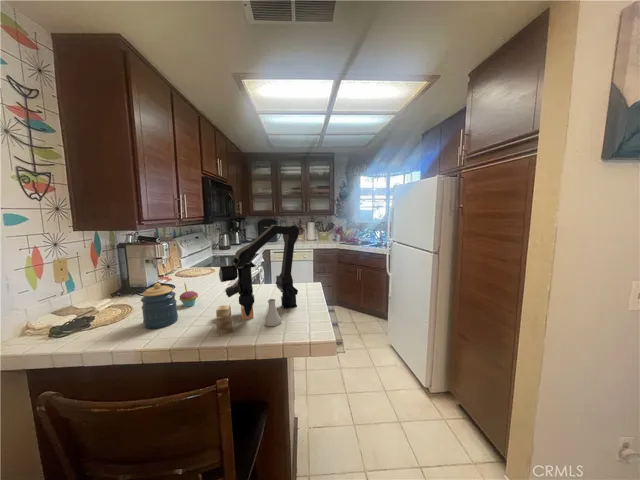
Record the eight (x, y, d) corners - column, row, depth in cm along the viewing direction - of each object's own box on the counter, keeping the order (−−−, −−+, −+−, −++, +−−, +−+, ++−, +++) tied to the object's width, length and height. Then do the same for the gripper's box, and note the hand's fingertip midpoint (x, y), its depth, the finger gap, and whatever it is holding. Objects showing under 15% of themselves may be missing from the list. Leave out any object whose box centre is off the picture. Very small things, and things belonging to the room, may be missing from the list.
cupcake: (176, 307, 134) (173, 284, 132) (190, 301, 142) (188, 279, 140) (188, 309, 130) (186, 285, 129) (202, 303, 138) (200, 280, 137)
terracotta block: (253, 313, 122) (252, 303, 122) (253, 318, 117) (252, 307, 117) (241, 315, 121) (241, 304, 120) (241, 319, 116) (241, 308, 115)
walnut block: (229, 327, 109) (229, 316, 108) (232, 332, 104) (232, 320, 104) (217, 331, 106) (216, 319, 105) (219, 336, 102) (218, 323, 101)
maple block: (231, 315, 121) (230, 305, 120) (228, 320, 116) (227, 309, 115) (219, 316, 120) (219, 305, 120) (216, 321, 115) (215, 310, 115)
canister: (158, 331, 107) (153, 288, 105) (136, 327, 112) (131, 286, 110) (185, 318, 119) (181, 280, 117) (163, 315, 124) (159, 278, 122)
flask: (278, 327, 107) (276, 303, 106) (261, 326, 109) (259, 302, 107) (284, 319, 114) (282, 297, 113) (268, 319, 116) (266, 296, 114)
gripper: (226, 274, 124) (229, 307, 125) (224, 285, 106) (227, 323, 108) (251, 272, 127) (253, 303, 129) (253, 282, 109) (255, 319, 111)
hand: (247, 311), depth 119 cm, fingers open, 9 cm apart
